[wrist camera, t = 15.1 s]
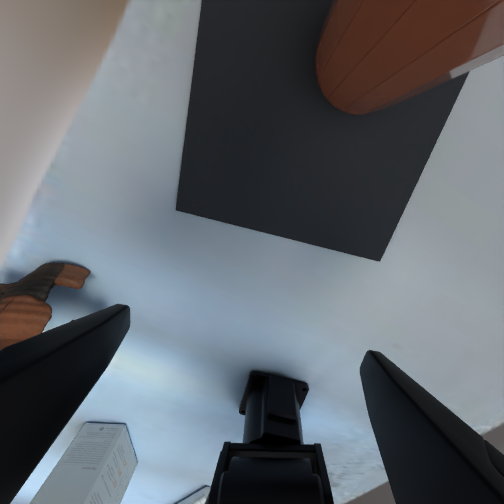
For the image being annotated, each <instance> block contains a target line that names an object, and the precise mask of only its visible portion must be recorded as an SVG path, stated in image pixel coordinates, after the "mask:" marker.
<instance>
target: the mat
mask: <svg viewBox="0 0 504 504" xmlns="http://www.w3.org/2000/svg"><path fill="white" fill-rule="evenodd" d="M332 2H333V0H202V5H201V13H200V21H199V29H198V37H197V45H196V53H195V60H194V68H193V76H192V84H191V92H190V100H189V108H188V116H187V124H186V132H185V140H184V148H183V156H182V164H181V172H180V180H179V188H178V196H177V204H176V210H177V211H181V212H185V213H189V214H193V215H197V216H201V217H205V218H209V219H213V220H217V221H221V222H225V223H229V224H233V225H237V226H241V227H245V228H249V229H252V230H256V231H260V232H264V233H268V234H272V235H276V236H280V237H284V238H288V239H292V240H296V241H300V242H304V243H308V244H312V245H316V246H320V247H324V248H328V249H332V250H336V251H340V252H344V253H348V254H352V255H356V256H360V257H364V258H368V259H371V260H375V261H379V262H380V260H381V258H382V256H383V254H384V252H385V250H386V248H387V246H388V243H389V241H390V239H391V237H392V235H393V233H394V231H395V229H396V227H397V224H398V222H399V220H400V218H401V216H402V214H403V212H404V210H405V207H406V205H407V203H408V201H409V199H410V197H411V195H412V193H413V190H414V188H415V186H416V184H417V182H418V180H419V178H420V176H421V173H422V171H423V169H424V167H425V165H426V163H427V161H428V159H429V156H430V154H431V152H432V150H433V148H434V146H435V144H436V142H437V139H438V137H439V135H440V133H441V131H442V129H443V127H444V125H445V122H446V120H447V118H448V116H449V114H450V112H451V110H452V108H453V105H454V103H455V101H456V99H457V97H458V95H459V93H460V91H461V89H462V86H463V84H464V82H465V80H466V78H467V76H468V74H469V72H470V71H468V72H466V73H464V74H462V75H459V76H457V77H455V78H453V79H451V80H448V81H446V82H444V83H442V84H439V85H437V86H435V87H433V88H430V89H428V90H426V91H424V92H422V93H419V94H417V95H415V96H413V97H410V98H408V99H406V100H404V101H402V102H399V103H397V104H395V105H393V106H390V107H388V108H386V109H384V110H379V111H377V112H374V113H370V114H364V115H355V114H349V113H346V112H343V111H341V110H339V109H337V108H336V107H334V106H333V105H332V104H331V103H330V102H329V101H328V100H327V99H326V97H325V96H324V94H323V93H322V91H321V89H320V86H319V84H318V80H317V77H316V70H315V57H316V50H317V44H318V41H319V38H320V35H321V32H322V28H323V25H324V22H325V20H326V17H327V15H328V12H329V9H330V7H331V4H332Z"/></svg>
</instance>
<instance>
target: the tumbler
mask: <svg viewBox="0 0 504 504" xmlns="http://www.w3.org/2000/svg"><path fill="white" fill-rule="evenodd" d="M502 56H504V0H333V2H332V4H331V7H330V9H329V12H328V15H327V17H326V20H325V22H324V25H323V28H322V32H321V35H320V38H319V41H318V44H317V50H316V57H315V70H316V77H317V80H318V84H319V86H320V89H321V91H322V93H323V94H324V96H325V97H326V99H327V100H328V101H329V102H330V103H331V104H332V105H333V106H334V107H336V108H337V109H339V110H341V111H343V112H346V113H349V114H355V115H364V114H370V113H374V112H377V111H379V110H384V109H386V108H388V107H390V106H393V105H395V104H397V103H399V102H402V101H404V100H406V99H408V98H410V97H413V96H415V95H417V94H419V93H422V92H424V91H426V90H428V89H430V88H433V87H435V86H437V85H439V84H442V83H444V82H446V81H448V80H451V79H453V78H455V77H457V76H459V75H462V74H464V73H466V72H468V71H471V70H473V69H475V68H477V67H480V66H482V65H484V64H486V63H488V62H491V61H493V60H495V59H497V58H500V57H502Z"/></svg>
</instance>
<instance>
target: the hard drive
mask: <svg viewBox="0 0 504 504" xmlns="http://www.w3.org/2000/svg"><path fill="white" fill-rule="evenodd" d="M210 489H211V488H210V487H205V488H203V489H202V490H200V491H198V492H196V493H195V494H193V495H191V496H190V497H188V498H186V499H184V500H183V501H181V502H179V503H178V504H205V501H206V499H207V497H208V494H209V492H210Z"/></svg>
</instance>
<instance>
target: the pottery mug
mask: <svg viewBox="0 0 504 504" xmlns="http://www.w3.org/2000/svg"><path fill="white" fill-rule="evenodd" d="M89 273H90V271H89V270H87V269H84V268H82V267H78V266H75V265H69V264H63V263H46V264H43V265H41V266H40V267H38V268H37V269H36V270H35V271H33V272H32V273H30V274H29V275H27V276H26V277H24V278H22V279H20V280H19V281H18V282H15V283H10V284H0V350H2V348H4V347H7V346H9V345H12V344H15V343H17V342H20V341H22V340H25V339H28V338H30V337H33V336H35V335H38V334H41V333H42V332H43V330H44V328H45V326H46V324H47V323H48V321H49V320H50V319H51V317H52V315H51V314H52V308H51V306H50V305H49V304H48V303H46V302H45V301H46V300H47V298H48V295H49V292H50V290H51V289H52V288H53V287H54V286H55V285H58V286H66V287H71V288H75V289H81V288H82V286H83V284H84V283H85V279H86V278H87V277H88V275H89ZM72 321H74V320H72ZM72 321H71V322H72Z"/></svg>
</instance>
